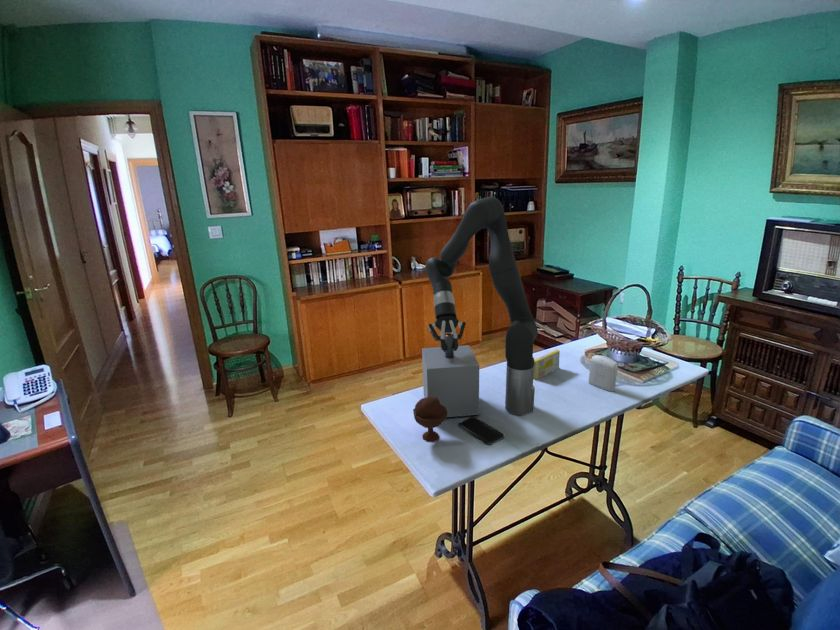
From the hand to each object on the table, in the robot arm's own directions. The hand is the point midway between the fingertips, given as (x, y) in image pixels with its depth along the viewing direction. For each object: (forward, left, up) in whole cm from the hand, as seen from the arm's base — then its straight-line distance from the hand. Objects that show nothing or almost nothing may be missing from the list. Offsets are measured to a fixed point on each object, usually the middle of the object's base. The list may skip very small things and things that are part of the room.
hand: (450, 350), depth 150 cm
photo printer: (-61, -9, -23) cm, 66 cm away
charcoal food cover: (0, -2, -22) cm, 22 cm away
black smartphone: (-8, +15, -24) cm, 29 cm away
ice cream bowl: (+9, +16, -23) cm, 30 cm away
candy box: (-44, -23, -23) cm, 55 cm away
